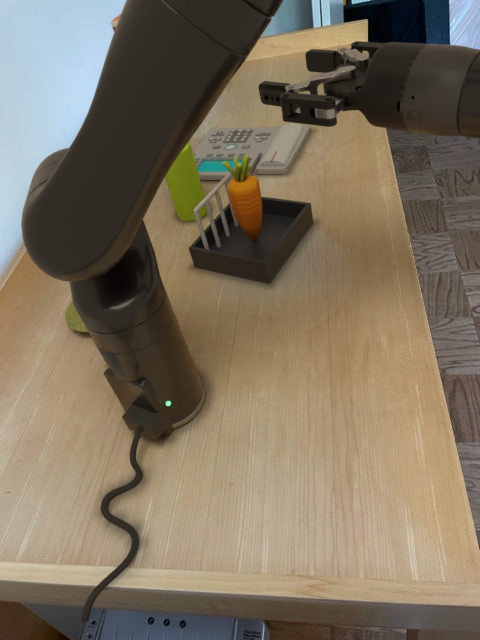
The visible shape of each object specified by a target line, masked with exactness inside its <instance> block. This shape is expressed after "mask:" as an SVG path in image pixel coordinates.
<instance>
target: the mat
mask: <svg viewBox="0 0 480 640" xmlns="http://www.w3.org/2000/svg"><path fill="white" fill-rule="evenodd" d="M64 318H65V322H66V325H67V326H68V327H69V328H70V329H72V330H73V331H75V332H80V333H81V332H82V333H89V332H88V330H87V328H86V327H85V325H84V323H83V321H82V320H81V318H80V316H79V314H78V313H77V311H76V308H75V306H74V304H73V300H72V301H71V302H70V303H69V305H68V306H67V307H66V310H65V314H64Z"/></svg>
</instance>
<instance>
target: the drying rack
mask: <svg viewBox="0 0 480 640" xmlns="http://www.w3.org/2000/svg"><path fill="white" fill-rule="evenodd" d="M233 169H234V171H235V170H236V169H235V167H234V168H233ZM231 176H232V174H231V173H230V172H229V173H228V174H227V175H226V176H225V177H224V178H223V179H222V180H219V182H218V183H217V184H216V185H215V186H214V187H213V188H212V189H211V190H210V191H209V193H208V194H207V195H205V198H204V199H203V200H202V201H201V202H200V203H199V204H198V205H197V206H196V207H195V208H194V210H193V212H194V215H195V218H196V220H195V222H196V225H197V228H198V231H199V236H198V237H197V238H196V239H195V240H194V241H193V242H192V244H191V245H190V246H189V247H188V252H189V254H190V257H191V260H192V263H193V266H194V268H196V269H200V270H204V271H208V272H213V273H218V274H222V275H228V276H232V277H237V278H240V279H246V280H250V281H254V282H259V283H262V284H263V283H264V284H267V285H270V284H271V283H272V281H273V280H274V279H275V277H276V276H277V274H279V272H280V270H281V269H282V267H283V266H284V265H285V264H286V262H287V261H288V259H289V258H290V257H291V255H292V254H293V252H294V251H295V250H296V248H297V247H298V245H299V244H300V243H301V241H302V240H303V238H304V237H305V236H306V235H307V233H308V232H309V230H310V229H311V227H312V226H313V225H314V216H313V208H312V203H311V202H305V201H299V200H290V199H284V198H277V197H276V198H275V197H269V196H261V199H262V223H261V229H260V233H259V236H258V238H257V239H256V240H255V241H254V240H252V239H250V238H249V237H248V236H247V235H246V234H245V232H244V231H243V230H242V228H241V227H240V225H239V223H238V221H237V219H236V217H235V214H234V212H233V209H232V205H231V202H230V198H229V195H228V185H229V180H228V179H229V178H230V177H231ZM223 186H224V189H225V192H226V196H227V199H228V200H227V201H228V204H227V205H226V206H225V207H224V205H223V202H222V197H221V193H220V189H221V188H222V187H223ZM213 196H215V199H216V203H217V207H218V210H219V211H218V212H219V214H218V215H217V216H216V217H215V218H214V215H213V211H212V208H211V207H212V206H211V204H210V199H212V198H213ZM204 205H205V206H206V210H207V216H208V220H209V223H210V224H209V225H207V227H206V228H205V229H204V226H203V223H202V218H200V216H199V212H198V211H199V210H200V209H201V208H202V207H203V206H204Z"/></svg>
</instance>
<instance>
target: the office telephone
mask: <svg viewBox="0 0 480 640" xmlns="http://www.w3.org/2000/svg"><path fill="white" fill-rule="evenodd" d="M311 131H312V130H311V125H303V124H301V123H292V122H288V123H284V124H283V125H281V126H255V127H254V126H253V127H211V128H210V129H208V131H207V132H206V134H205V135H204V137H203V138H202V139H201V141H200V142H199V144H198V145H197V146H196V148H194V149H195V150H194V151H193V155H194V159H195V163H196V166H197V170H198V173H199V177H200V180H201V181H221V180H222V179H223V178H224V177H225V176H226V175H227V174H228V173H229V172H230V171H229V170H228V169H227V168H226V167H225V166H224V165H223V164H222V163H223V162H224V161H226V162H227V163H229V164H230V165H231V167H232V168H234V167H235V165H234V160H233V158H234V157H235V156H237V159H238V163H241V165H242V160H243V157H244V155H245V154H246V155H249V157H250V158H249V163H248V166H249V165H251V166H252V167H251V169H250V170H249V172H248V173H247V174H250V175H252V173H253V171H254V169H255V171H256V174H257V175H284V174H287V173H288V172H289V170H290V169H291V167H292V166H293V164H294V162H295V160H296V158H297V157H298V155H299V153H300V152H301V150H302V148H303V146H304V144H305V143H306V140H307V139H308V137H309V135H310V133H311ZM232 178H234V176H233V175H232V176H231V177H230V178H229V179H228V181H230V180H231V179H232Z"/></svg>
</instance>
